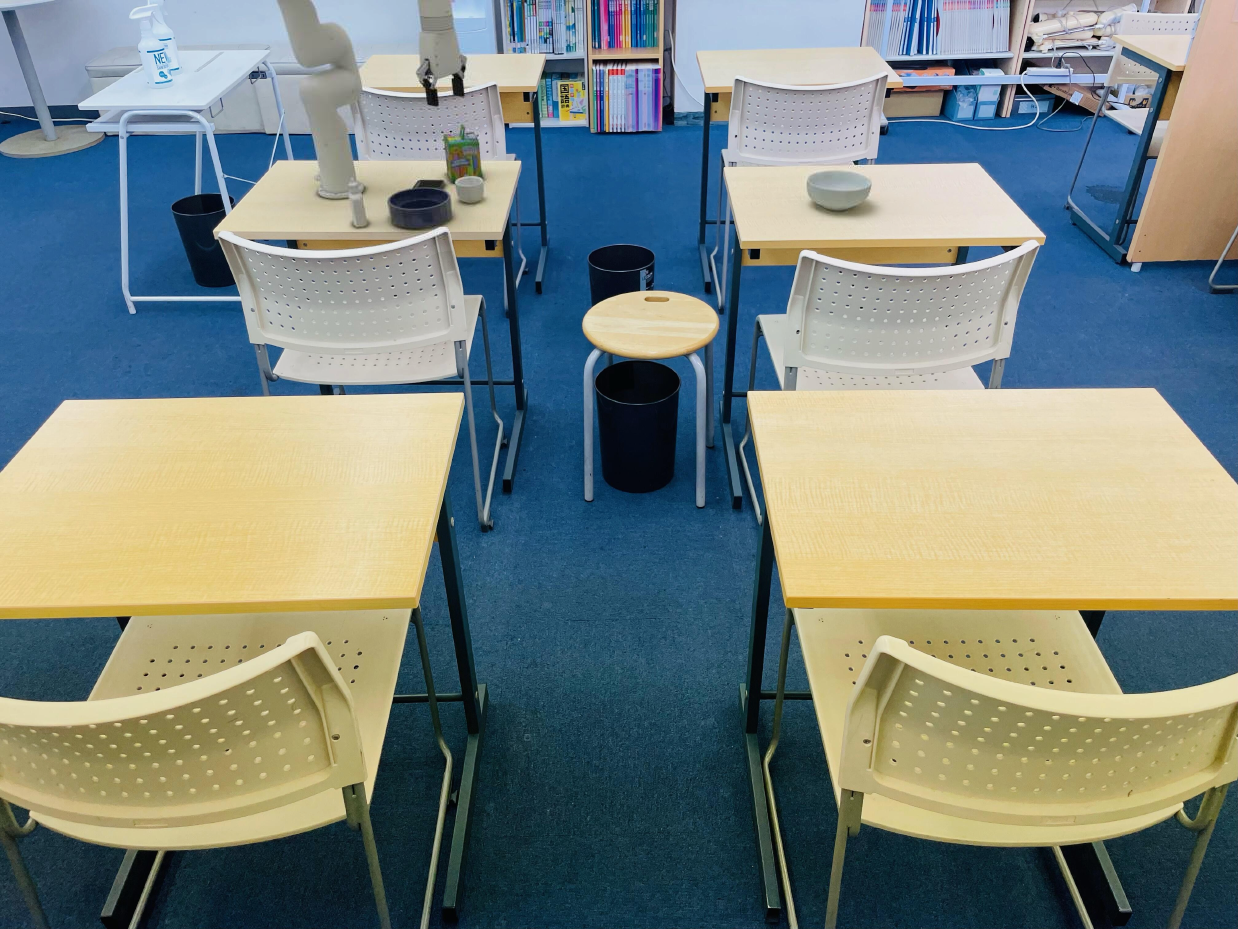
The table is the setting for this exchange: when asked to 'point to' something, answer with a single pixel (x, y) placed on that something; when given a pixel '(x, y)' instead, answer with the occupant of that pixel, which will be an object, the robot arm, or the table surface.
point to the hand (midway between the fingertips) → (446, 100)
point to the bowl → (420, 207)
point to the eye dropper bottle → (357, 205)
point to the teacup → (469, 189)
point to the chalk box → (462, 155)
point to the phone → (430, 184)
